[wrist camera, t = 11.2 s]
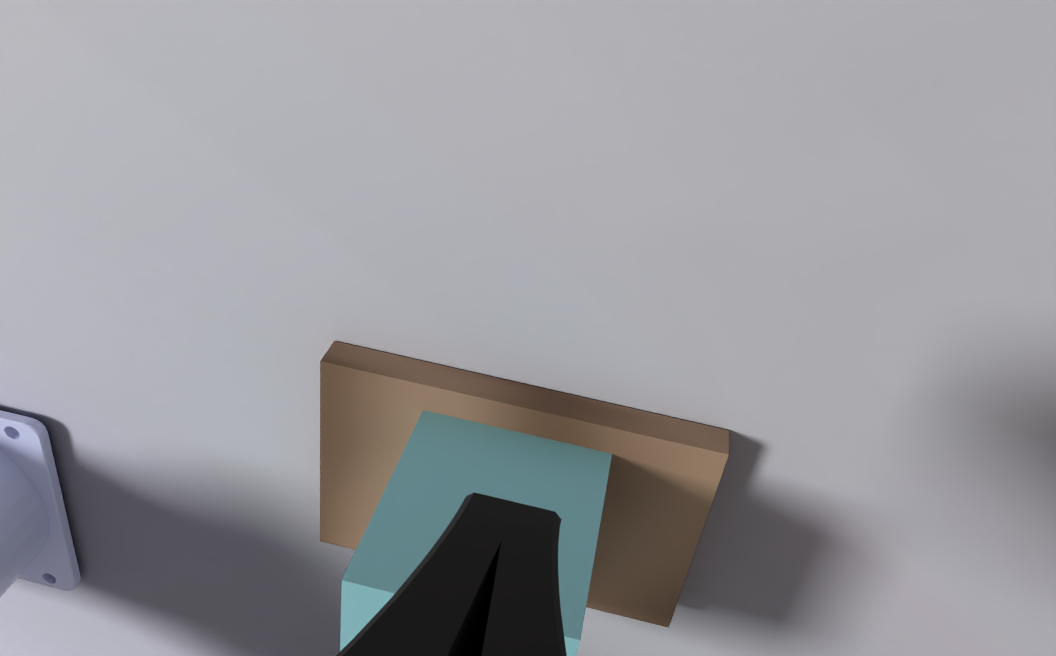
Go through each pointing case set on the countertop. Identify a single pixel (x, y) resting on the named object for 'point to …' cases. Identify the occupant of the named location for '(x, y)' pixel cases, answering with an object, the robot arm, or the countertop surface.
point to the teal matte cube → (440, 488)
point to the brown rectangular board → (628, 434)
